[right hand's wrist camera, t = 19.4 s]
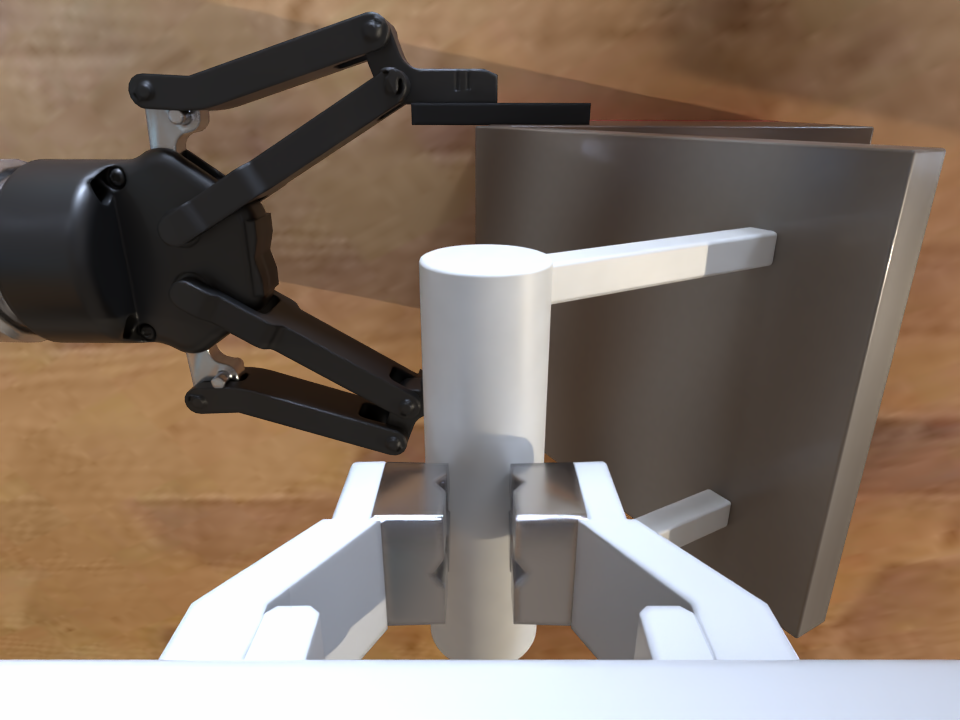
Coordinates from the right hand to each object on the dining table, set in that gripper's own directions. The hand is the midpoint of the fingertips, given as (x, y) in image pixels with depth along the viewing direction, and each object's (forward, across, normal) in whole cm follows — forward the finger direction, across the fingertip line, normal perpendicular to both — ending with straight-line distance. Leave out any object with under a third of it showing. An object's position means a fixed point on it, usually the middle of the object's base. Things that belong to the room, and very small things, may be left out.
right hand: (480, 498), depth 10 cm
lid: (+9, +4, 0) cm, 10 cm away
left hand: (+18, +4, 0) cm, 18 cm away
